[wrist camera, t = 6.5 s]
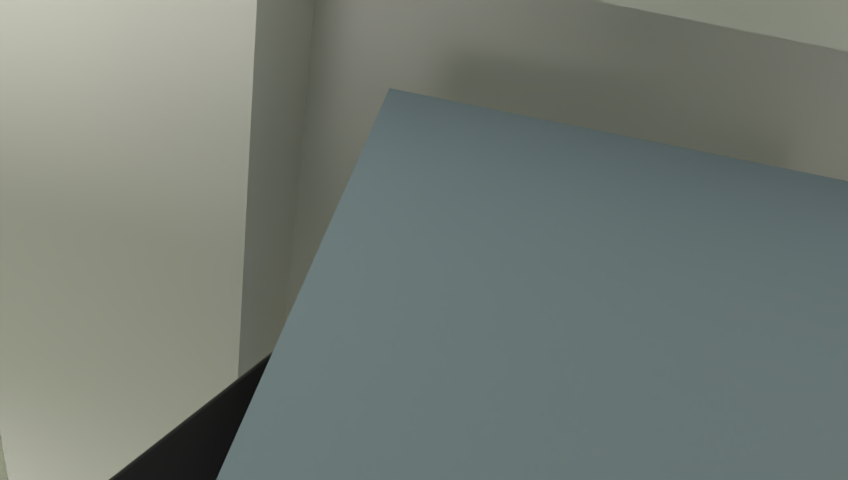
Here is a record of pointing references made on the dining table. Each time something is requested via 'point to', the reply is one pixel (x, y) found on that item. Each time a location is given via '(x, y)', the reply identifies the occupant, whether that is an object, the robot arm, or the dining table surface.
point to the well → (306, 164)
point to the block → (559, 313)
